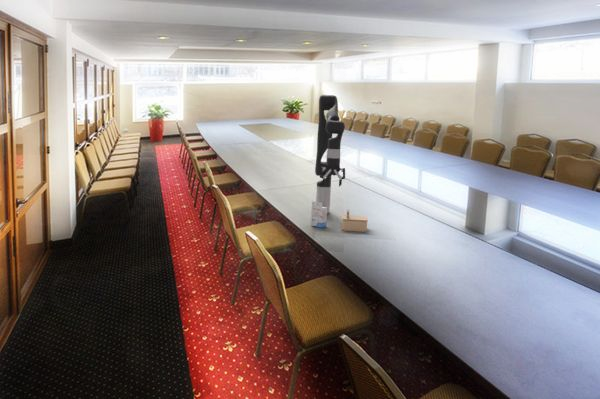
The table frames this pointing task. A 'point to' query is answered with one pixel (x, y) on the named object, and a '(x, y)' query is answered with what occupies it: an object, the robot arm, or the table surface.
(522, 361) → the table surface
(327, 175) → the robot arm
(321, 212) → the ink box
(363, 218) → the lid
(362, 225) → the open wooden box
